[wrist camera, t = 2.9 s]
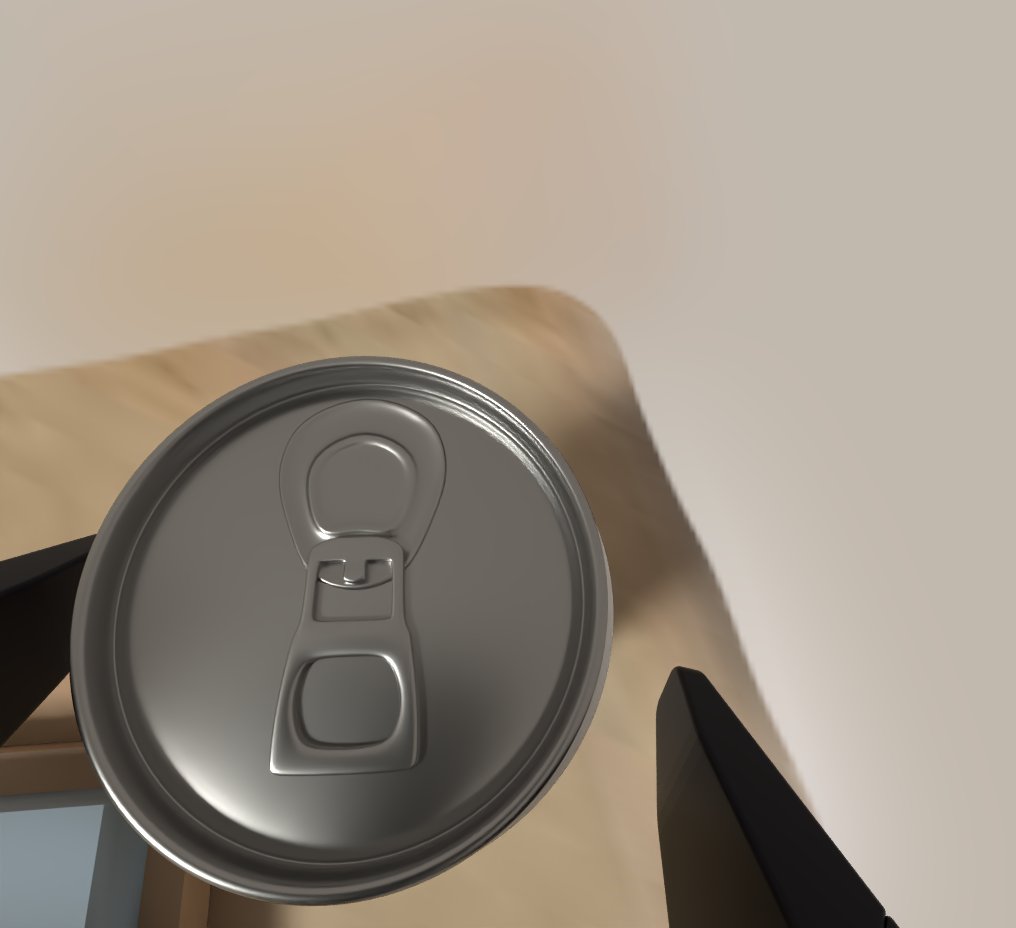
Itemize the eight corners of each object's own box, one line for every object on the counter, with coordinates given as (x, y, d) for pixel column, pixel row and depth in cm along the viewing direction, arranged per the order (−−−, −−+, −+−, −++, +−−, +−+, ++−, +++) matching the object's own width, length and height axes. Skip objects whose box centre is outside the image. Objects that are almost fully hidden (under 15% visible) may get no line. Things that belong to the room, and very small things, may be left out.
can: (540, 525, 18) (618, 320, 7) (551, 737, 16) (690, 949, 5) (348, 530, 18) (98, 326, 7) (333, 746, 16) (-71, 990, 4)
